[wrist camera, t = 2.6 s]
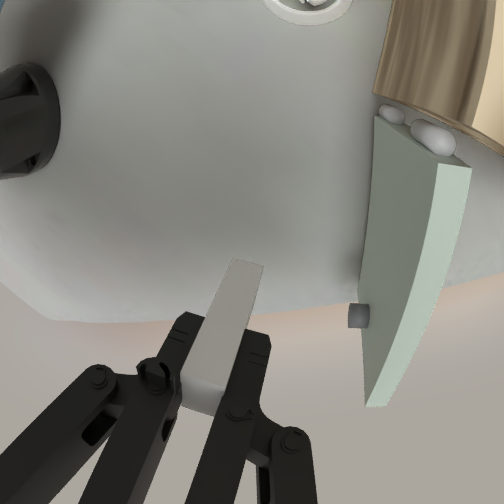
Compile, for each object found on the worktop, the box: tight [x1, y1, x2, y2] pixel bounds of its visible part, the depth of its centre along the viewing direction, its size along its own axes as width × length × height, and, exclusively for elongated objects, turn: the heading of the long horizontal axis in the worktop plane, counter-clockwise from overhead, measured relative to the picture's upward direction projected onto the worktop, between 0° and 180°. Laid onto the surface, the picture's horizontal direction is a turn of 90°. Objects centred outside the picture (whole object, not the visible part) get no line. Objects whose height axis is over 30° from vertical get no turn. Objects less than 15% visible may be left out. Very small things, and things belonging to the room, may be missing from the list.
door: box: [348, 104, 472, 407], centre depth 19 cm, size 18×3×13 cm, turn 5°
